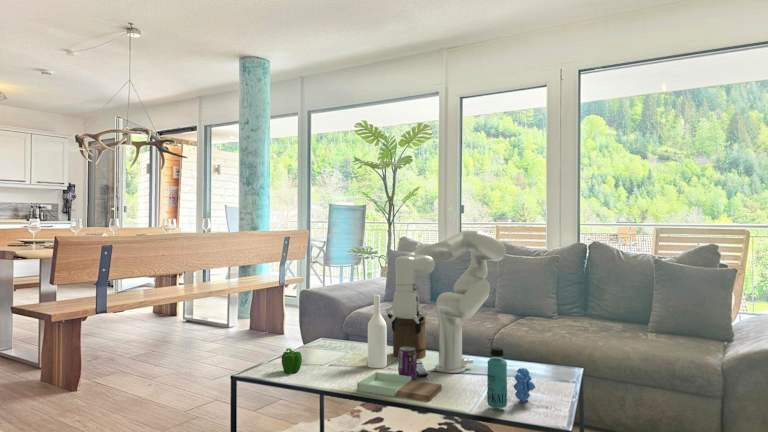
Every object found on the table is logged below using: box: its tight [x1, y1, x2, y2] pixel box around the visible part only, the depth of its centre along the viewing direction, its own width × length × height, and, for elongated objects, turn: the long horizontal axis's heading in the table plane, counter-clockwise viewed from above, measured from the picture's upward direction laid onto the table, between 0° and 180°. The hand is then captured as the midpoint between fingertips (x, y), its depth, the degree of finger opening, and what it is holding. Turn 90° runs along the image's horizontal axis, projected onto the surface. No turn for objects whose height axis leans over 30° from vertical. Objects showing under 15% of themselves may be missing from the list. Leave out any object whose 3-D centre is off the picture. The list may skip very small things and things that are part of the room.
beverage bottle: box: [486, 347, 508, 409], centre depth 170 cm, size 6×7×20 cm
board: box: [396, 380, 443, 402], centre depth 186 cm, size 12×13×2 cm
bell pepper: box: [281, 347, 303, 374], centre depth 213 cm, size 8×8×10 cm
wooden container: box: [392, 313, 427, 360], centre depth 237 cm, size 15×15×22 cm
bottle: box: [367, 294, 388, 369], centre depth 221 cm, size 8×8×30 cm
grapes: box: [513, 367, 536, 403], centre depth 176 cm, size 12×7×12 cm, turn 145°
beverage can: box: [397, 346, 418, 381], centre depth 202 cm, size 7×7×12 cm
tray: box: [356, 371, 411, 398], centre depth 192 cm, size 15×15×3 cm
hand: (406, 332), depth 202 cm, fingers open, 9 cm apart
